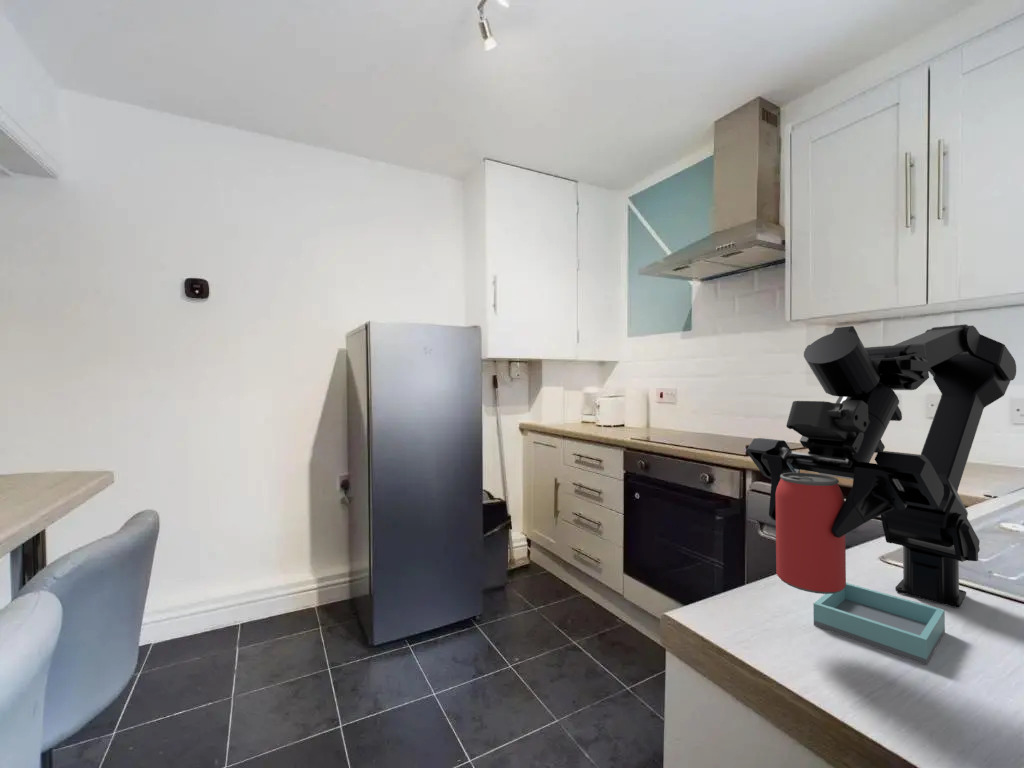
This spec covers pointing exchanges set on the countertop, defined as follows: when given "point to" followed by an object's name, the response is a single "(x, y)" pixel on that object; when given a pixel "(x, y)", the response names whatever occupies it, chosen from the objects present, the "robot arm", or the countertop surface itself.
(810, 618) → the countertop surface
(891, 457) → the robot arm
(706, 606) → the countertop surface
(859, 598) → the tray
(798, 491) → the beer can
